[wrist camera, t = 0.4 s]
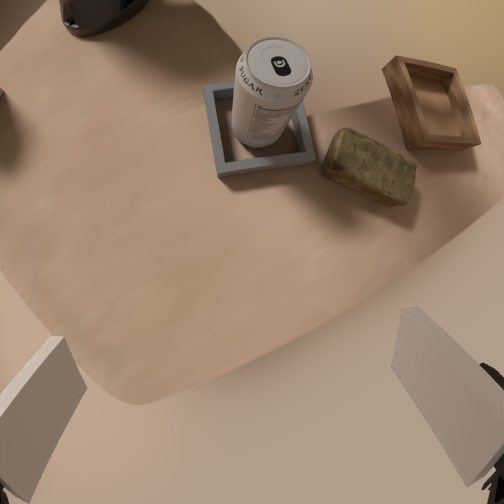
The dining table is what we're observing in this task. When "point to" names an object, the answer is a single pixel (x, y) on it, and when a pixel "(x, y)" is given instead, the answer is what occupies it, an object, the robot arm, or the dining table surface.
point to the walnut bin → (430, 105)
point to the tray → (262, 163)
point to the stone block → (369, 168)
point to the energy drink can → (268, 90)
